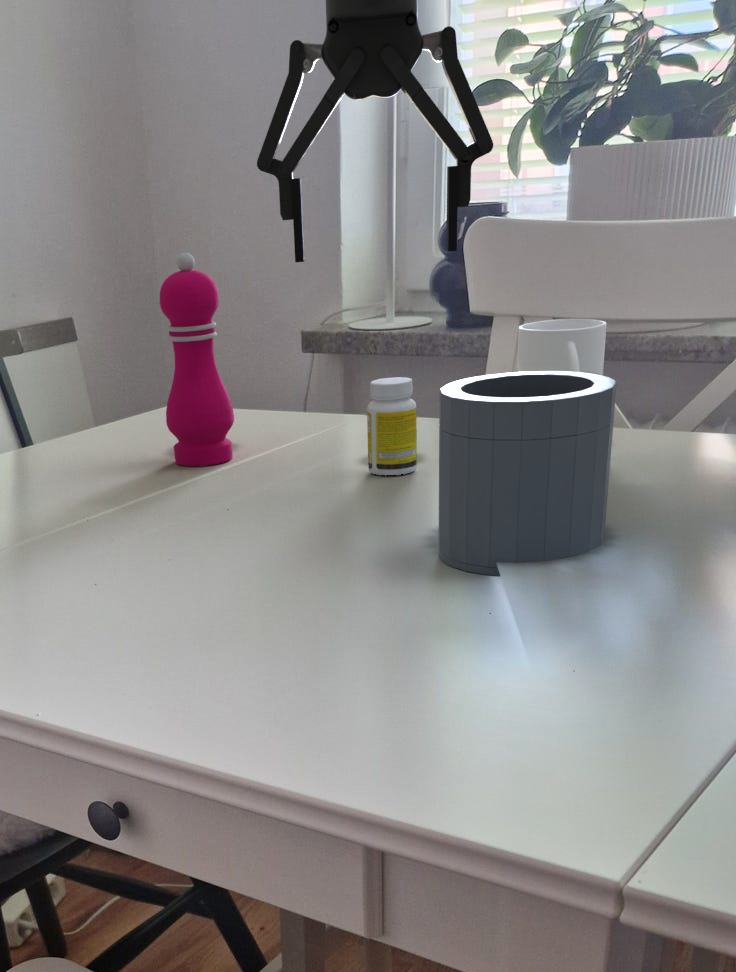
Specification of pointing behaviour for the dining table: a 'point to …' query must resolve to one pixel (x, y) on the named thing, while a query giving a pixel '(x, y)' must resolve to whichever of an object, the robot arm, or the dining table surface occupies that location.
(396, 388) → the supplement bottle
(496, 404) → the open container
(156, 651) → the dining table surface
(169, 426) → the pepper mill
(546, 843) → the dining table surface
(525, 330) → the mug
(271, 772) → the dining table surface
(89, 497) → the dining table surface
